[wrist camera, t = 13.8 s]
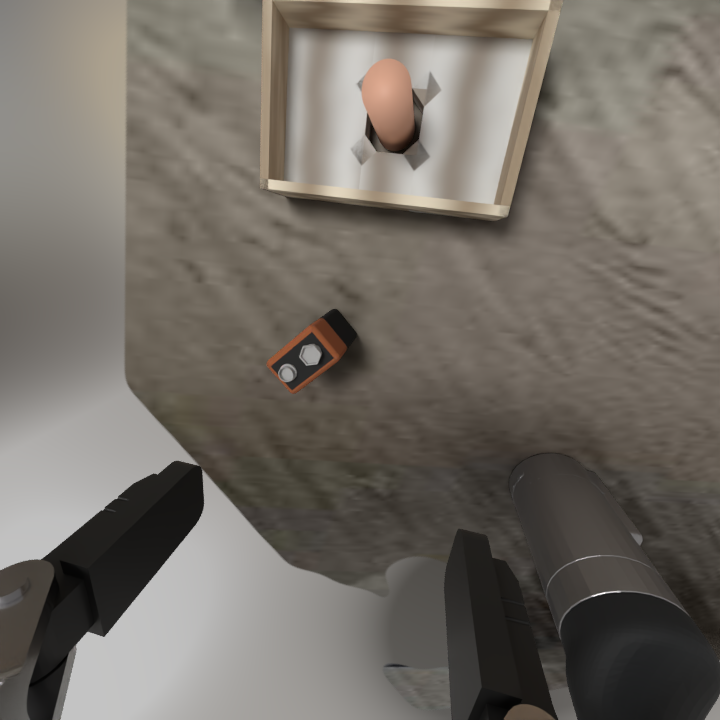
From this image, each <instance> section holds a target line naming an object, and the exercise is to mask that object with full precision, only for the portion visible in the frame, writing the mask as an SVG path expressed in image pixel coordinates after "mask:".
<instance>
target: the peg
mask: <svg viewBox="0 0 720 720" xmlns="http://www.w3.org/2000/svg"><path fill="white" fill-rule="evenodd" d="M362 100H363V104H364V106H365V108H366V111H367V113H368V115H369V117H370V120H371V122H372V124H373V127H374V129H375V131H376V134H377V136H378V138H379V140H380V142H381V144H382V145H383V146H384V147H385V148H386V149H388V150H390V151H400V150H402V149H404V148H405V147H407V146H408V145H409V143H410V142H411V140H412V138H413V136H414V132H415V121H414V109H413V96H412V84H411V78H410V75H409V72H408V70H407V69H406V67H405V66H404V65H403V64H402V63H401V62H399V61H397V60H395V59H383V60H380V61H378V62H376V63H375V64H374V65H373V66H372V67H371V68H370V69H369V70H368V72H367V73H366V75H365V77H364V80H363V84H362Z"/></svg>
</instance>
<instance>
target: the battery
mask: <svg viewBox="0 0 720 720" xmlns="http://www.w3.org/2000/svg"><path fill="white" fill-rule="evenodd" d="M356 335H357V334H356V332H355V331H354V330H353V329H352V327H351V326H350V325H349V324H348V323H347V321H346V320H345V319H344V318H343V316H342V315H341V314H340V313H339V311H338V310H337V309H332V310H331V311H329V312H328V313H326V314H325V315H324V316H322V317H321V318H319V319H318V320H317V321H315V322H314V323H312V324H311V325H310V326H308V327H307V328H306V329H305V330H303V331H302V332H301V333H300V334H299V335H297V336H296V337H295V338H294V339H293V340H292V341H290V342H289V343H288V344H287V345H286V346H284V347H283V348H282V349H281V350H280V351H278V352H277V353H276V354H275V355H274V356H273V357H271V358H270V359H269V360H268V362H267V366H268V368H269V369H270V370H271V371H272V372H273V373H274V374H275V376H276V377H277V378H278V379H279V380H280V381H281V382H282V383H283V385H284V386H285V387H286V388H287V389H288V390H289V391H290V392H291V393H292V394H294V393H297V392H298V391H300V390H301V389H302V388H304V387H305V386H306V385H308V384H309V383H310V382H312V381H313V380H314V379H316V378H317V377H318V376H319V375H321V374H322V373H323V372H325V371H326V370H327V369H329V368H330V367H331V366H333V365H334V364H335V363H337V362H338V361H339V360H340V358H341V357H342V356H343V354H344V353H345V352H346V350H347V349H348V348H349V346H350V345H351V343H352V342H353V341H354V339H355V338H356Z"/></svg>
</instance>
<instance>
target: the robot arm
mask: <svg viewBox="0 0 720 720" xmlns="http://www.w3.org/2000/svg"><path fill="white" fill-rule="evenodd" d="M509 490H510V493H511V496H512V500H513V503H514V505H515V508H516V511H517V514H518V517H519V520H520V523H521V526H522V529H523V532H524V534H525V537H526V540H527V543H528V546H529V549H530V552H531V555H532V558H533V561H534V563H535V566H536V569H537V572H538V575H539V578H540V581H541V584H542V587H543V590H544V593H545V595H546V598H547V601H548V604H549V607H550V610H551V613H552V616H553V618H554V621H555V624H556V627H557V630H558V633H559V636H560V639H561V641H562V644H563V647H564V650H565V654H566V677H567V683H568V687H569V692H570V695H571V698H572V702H573V706H574V709H575V712H576V716H577V719H578V720H705V718H706V716H707V715H708V713H709V711H710V710H711V708H712V707H713V705H714V703H715V702H716V701H717V699H718V697H719V694H720V662H719V660H718V657H717V655H716V653H715V652H714V650H713V649H712V647H711V645H710V644H709V642H708V641H707V639H706V638H705V636H704V635H703V634H702V632H701V631H700V630H699V628H698V627H697V625H696V624H695V623H694V621H693V620H692V619H691V617H690V616H689V614H688V613H687V612H686V610H685V609H684V607H683V606H682V605H681V603H680V602H679V600H678V599H677V598H676V596H675V595H674V593H673V592H672V591H671V589H670V588H669V586H668V585H667V584H666V582H665V581H664V580H663V578H662V577H661V575H660V574H659V573H658V571H657V570H656V568H655V567H654V566H653V564H652V563H651V561H650V560H649V559H648V557H647V556H646V554H645V553H644V551H643V550H642V549H641V547H640V545H641V543H642V541H643V537H642V535H641V533H640V532H639V531H638V529H637V528H636V527H635V525H634V524H633V523H632V521H631V520H630V519H629V517H628V516H627V515H626V513H625V512H624V511H623V509H622V508H621V506H620V505H619V504H618V502H617V501H616V500H615V498H614V497H613V496H612V494H611V493H610V492H609V490H608V489H607V488H606V486H605V485H604V484H603V482H602V481H601V480H600V478H599V477H598V476H597V474H596V473H595V472H591V471H588V470H586V469H585V468H584V467H583V466H582V465H581V464H580V463H579V462H577V461H576V460H574V459H573V458H570V457H568V456H565V455H561V454H553V453H546V454H539V455H535V456H532V457H530V458H528V459H526V460H524V461H522V462H521V463H520V464H519V465H517V467H516V468H515V469H514V470H513V472H512V474H511V476H510V480H509ZM203 507H204V494H203V478H202V469H201V467H200V466H197V465H193V464H189V463H185V462H181V461H174V462H172V463H171V464H170V465H169V466H167V467H166V468H165V469H164V470H163V471H162V472H160V473H159V474H158V475H157V474H152V475H150V476H148V477H146V478H144V479H142V480H140V481H138V482H136V483H134V484H133V485H131V486H130V487H129V488H128V489H127V490H125V491H124V492H123V493H122V494H121V495H119V496H118V499H115V500H113V501H112V502H111V503H110V504H109V505H107V506H106V507H105V509H104V510H103V511H100V512H99V513H98V514H96V515H95V516H94V517H93V518H92V519H90V520H89V521H88V522H87V523H85V524H84V525H83V526H82V527H81V528H79V529H78V530H77V531H76V532H75V533H73V534H72V535H71V536H70V537H69V538H67V539H66V540H65V541H64V542H62V543H61V544H60V545H59V546H58V547H57V548H55V549H54V550H53V551H51V552H50V553H49V554H48V555H46V556H45V557H44V558H43V559H41V560H28V561H23V562H20V563H17V564H14V565H11V566H9V567H6V568H4V569H2V570H0V720H60V719H61V714H62V710H63V706H64V701H65V697H66V693H67V689H68V684H69V680H70V676H71V672H72V667H73V663H74V659H75V655H76V644H77V643H78V642H79V641H80V639H81V638H82V637H83V636H84V635H85V634H86V632H87V631H88V632H91V633H94V634H97V635H100V636H103V637H104V636H105V635H106V634H107V633H108V632H109V630H110V629H111V628H112V627H113V625H114V624H115V623H116V622H117V620H118V619H119V618H120V617H121V616H122V614H123V613H124V612H125V611H126V610H127V608H128V607H129V606H130V605H131V603H132V602H133V601H134V600H135V598H136V597H137V596H138V595H139V593H140V592H141V591H142V590H143V589H144V587H145V586H146V585H147V584H148V582H149V581H150V580H151V579H152V578H153V576H154V575H155V574H156V573H157V571H158V570H159V569H160V568H161V567H162V565H163V564H164V563H165V561H166V560H167V559H168V558H169V557H170V556H171V554H172V553H173V552H174V550H175V549H176V548H177V547H178V546H179V544H180V543H181V542H182V541H183V540H184V538H185V537H186V536H187V535H188V533H189V532H190V531H191V530H192V528H193V527H194V526H195V525H196V523H197V522H198V520H199V518H200V516H201V514H202V511H203ZM444 593H445V610H446V626H447V645H448V661H449V680H450V697H451V714H452V720H558V718H557V715H556V713H555V710H554V707H553V705H552V701H551V697H550V694H549V690H548V686H547V683H546V679H545V676H544V672H543V668H542V665H541V661H540V658H539V654H538V650H537V647H536V643H535V640H534V636H533V632H532V629H531V627H530V625H529V623H530V622H529V618H528V614H527V611H526V608H525V607H524V600H523V596H522V593H521V589H520V586H519V582H518V580H517V579H516V577H515V575H514V574H513V572H512V571H511V569H510V568H509V566H508V565H507V563H506V561H503V560H499V559H495V558H492V555H491V550H490V545H489V541H488V538H487V536H486V535H484V534H479V533H475V532H471V531H467V530H463V529H458V531H457V533H456V536H455V540H454V543H453V546H452V550H451V553H450V556H449V560H448V563H447V567H446V572H445V583H444Z"/></svg>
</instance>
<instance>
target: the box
mask: <svg viewBox="0 0 720 720" xmlns="http://www.w3.org/2000/svg"><path fill="white" fill-rule="evenodd" d="M562 3H563V0H263V2H262V77H261V151H260V188H261V189H264V190H267V191H270V192H273V193H276V194H279V195H282V196H285V197H292V198H301V199H309V200H318V201H326V202H335V203H343V204H351V205H360V206H368V207H377V208H385V209H394V210H402V211H411V212H419V213H427V214H436V215H444V216H453V217H461V218H470V219H478V220H487V221H496V220H499V219H502V218H506V217H508V213H509V210H510V206H511V202H512V198H513V194H514V190H515V186H516V182H517V178H518V174H519V171H520V167H521V163H522V159H523V155H524V151H525V147H526V143H527V139H528V136H529V132H530V128H531V124H532V120H533V116H534V112H535V108H536V104H537V100H538V97H539V93H540V89H541V85H542V81H543V77H544V73H545V69H546V65H547V62H548V58H549V54H550V50H551V46H552V42H553V38H554V34H555V30H556V27H557V23H558V19H559V15H560V11H561V7H562ZM383 59H395V60H397V61H399V62H401V63H402V64H403V65H404V66H405V67H406V69H407V70H408V72H409V75H410V78H411V84H412V96H413V100H414V102H415V103H416V105H417V107H418V108H419V110H420V111H421V113H422V114H423V117H422V124H421V130H420V136H419V140H418V141H417V142H416V143H414V144H413V145H412V146H411V147H410V148H409V149H408V150H407V151H406V152H405V153H403V154H396V153H385V152H376V150H375V149H374V147H373V146H372V144H371V143H370V141H369V138H370V129H371V120H370V117H369V115H368V113H367V111H366V108H365V106H364V104H363V100H362V84H363V80H364V77H365V75H366V73H367V72H368V70H369V69H370V68H371V67H372V66H373V65H374V64H375V63H376V62H378V61H380V60H383Z"/></svg>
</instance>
